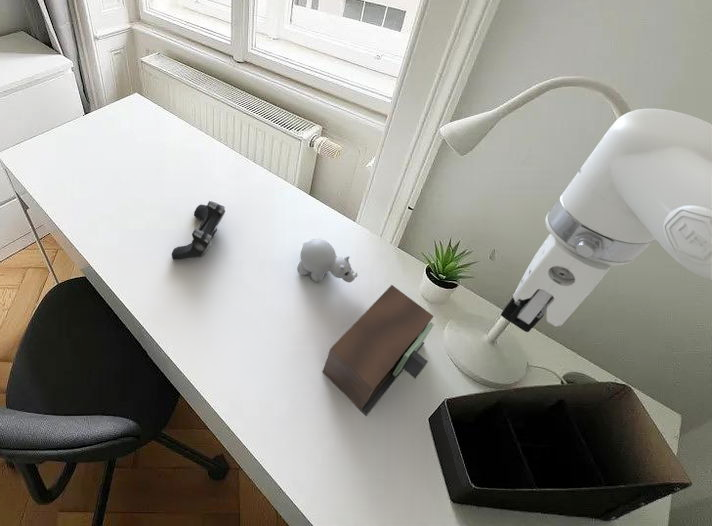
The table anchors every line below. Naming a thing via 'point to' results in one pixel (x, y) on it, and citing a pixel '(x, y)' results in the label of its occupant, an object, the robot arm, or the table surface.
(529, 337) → the table surface
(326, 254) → the round bodied animal figurine
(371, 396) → the cabinet
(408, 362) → the sliding door
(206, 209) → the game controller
